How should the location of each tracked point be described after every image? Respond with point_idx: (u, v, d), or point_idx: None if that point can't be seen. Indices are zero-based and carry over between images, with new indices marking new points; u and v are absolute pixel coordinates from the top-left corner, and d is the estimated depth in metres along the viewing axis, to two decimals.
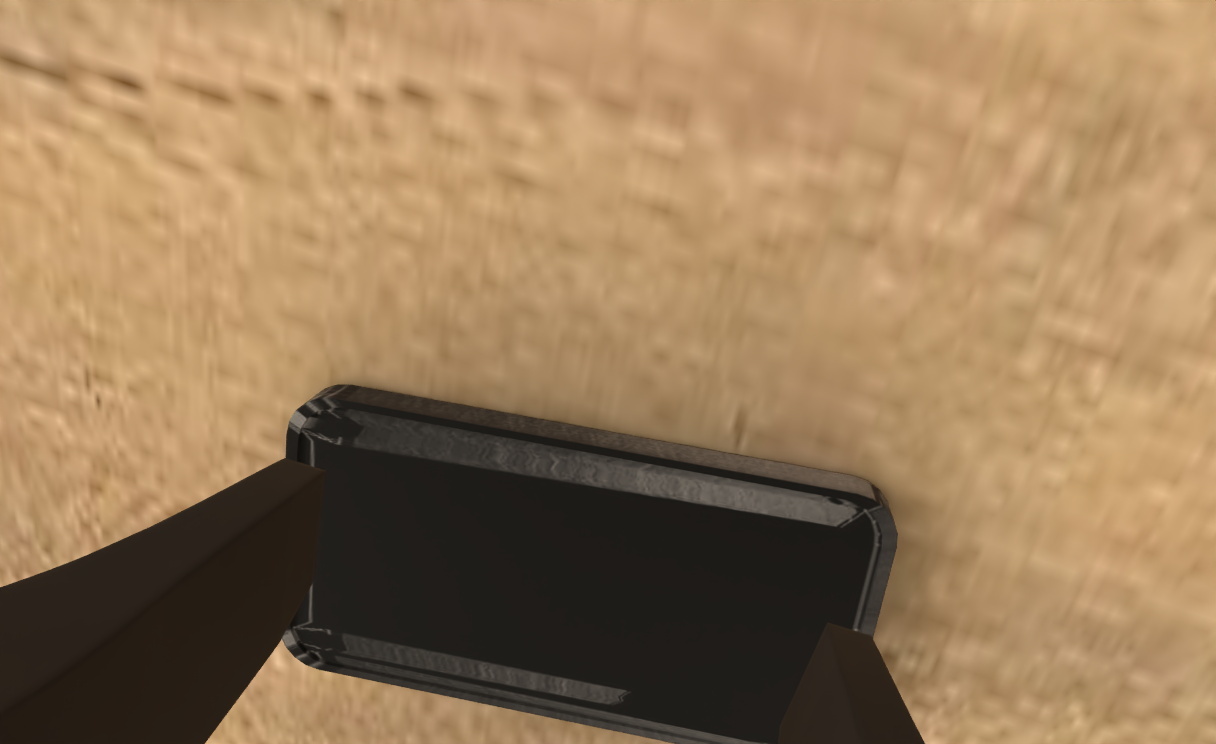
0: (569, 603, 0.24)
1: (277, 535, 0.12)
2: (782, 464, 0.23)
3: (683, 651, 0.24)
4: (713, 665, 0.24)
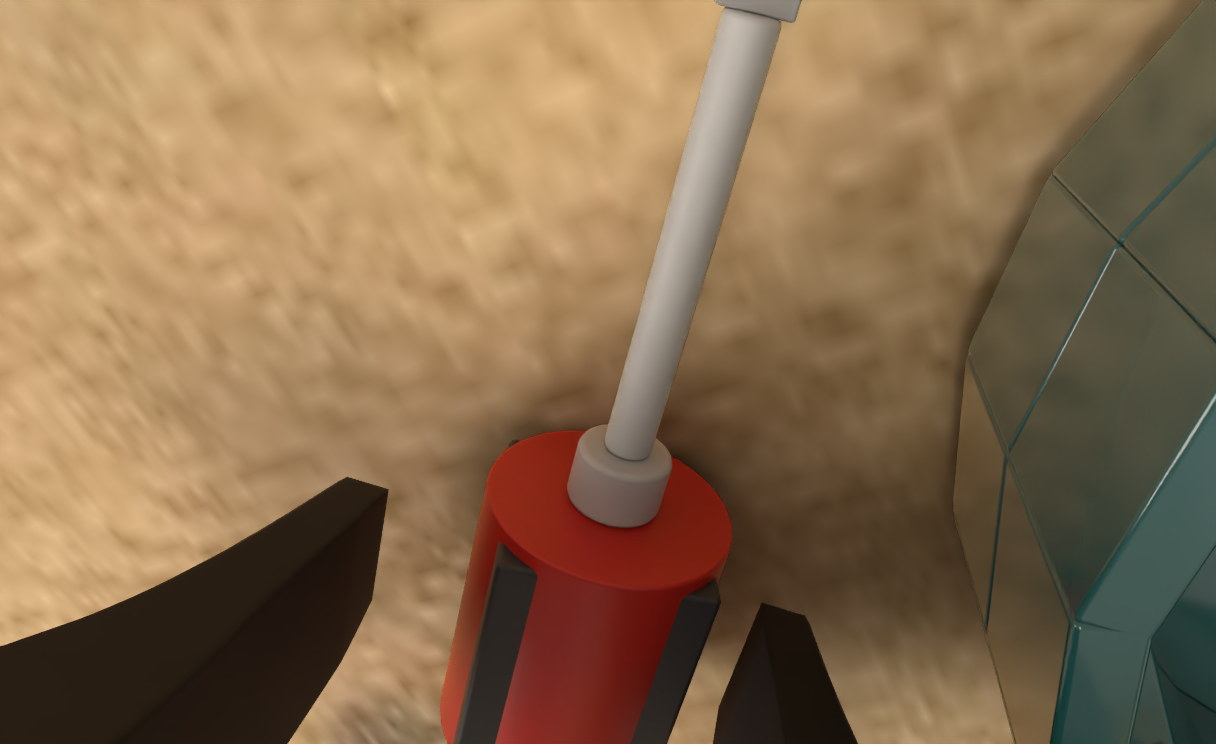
0: None
1: (345, 556, 0.12)
2: None
3: None
4: None
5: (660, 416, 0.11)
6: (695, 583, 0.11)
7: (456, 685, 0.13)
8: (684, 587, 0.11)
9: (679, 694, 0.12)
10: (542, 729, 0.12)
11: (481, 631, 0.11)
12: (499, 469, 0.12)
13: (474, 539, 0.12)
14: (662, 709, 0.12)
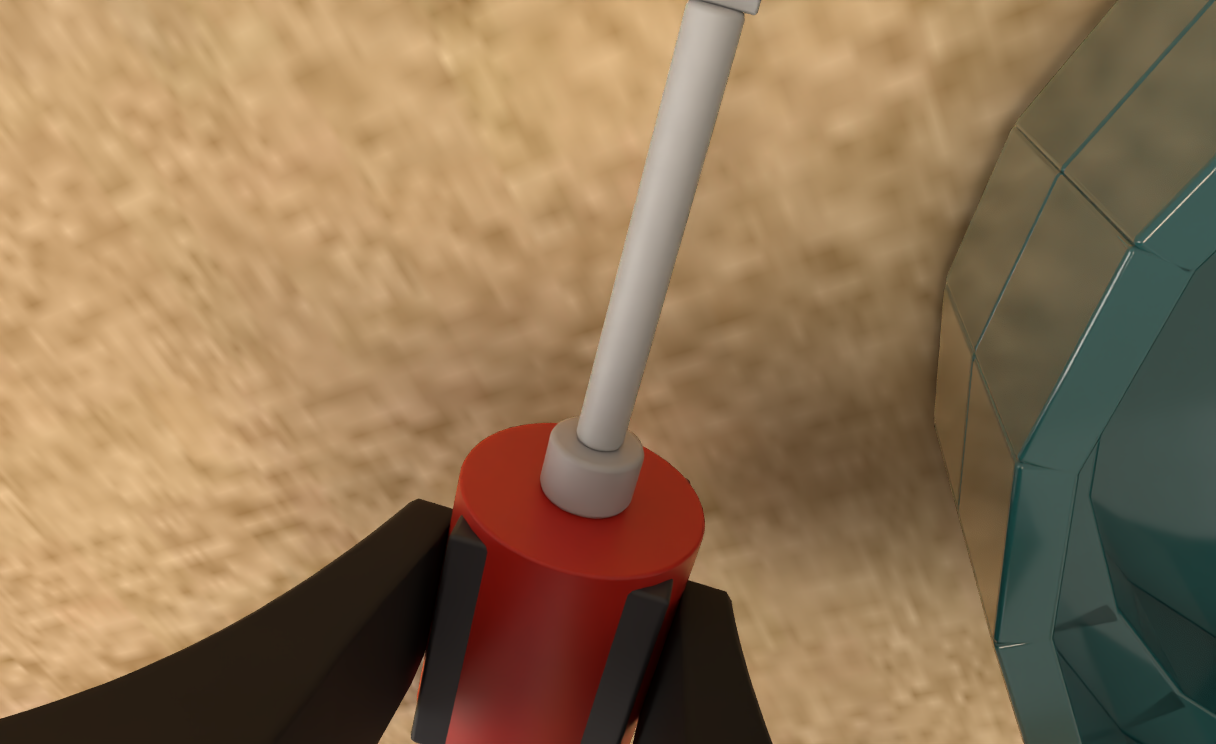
0: None
1: (423, 579, 0.12)
2: None
3: None
4: None
5: (628, 408, 0.11)
6: (644, 579, 0.11)
7: None
8: (631, 581, 0.11)
9: (629, 695, 0.12)
10: (491, 709, 0.12)
11: (437, 601, 0.12)
12: (481, 449, 0.12)
13: None
14: (612, 708, 0.12)
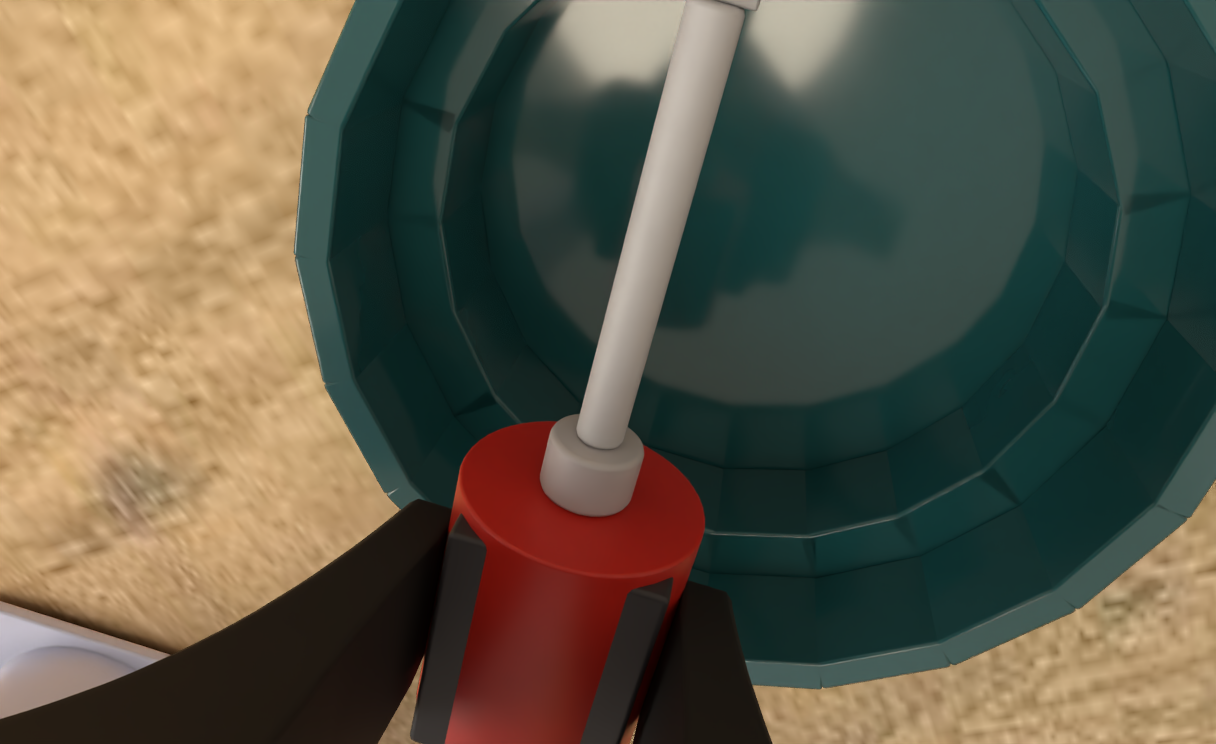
0: None
1: (423, 580, 0.12)
2: None
3: None
4: None
5: (628, 406, 0.11)
6: (644, 578, 0.11)
7: None
8: (631, 580, 0.11)
9: (629, 693, 0.12)
10: (490, 707, 0.12)
11: (436, 599, 0.12)
12: (480, 447, 0.12)
13: None
14: (612, 707, 0.12)
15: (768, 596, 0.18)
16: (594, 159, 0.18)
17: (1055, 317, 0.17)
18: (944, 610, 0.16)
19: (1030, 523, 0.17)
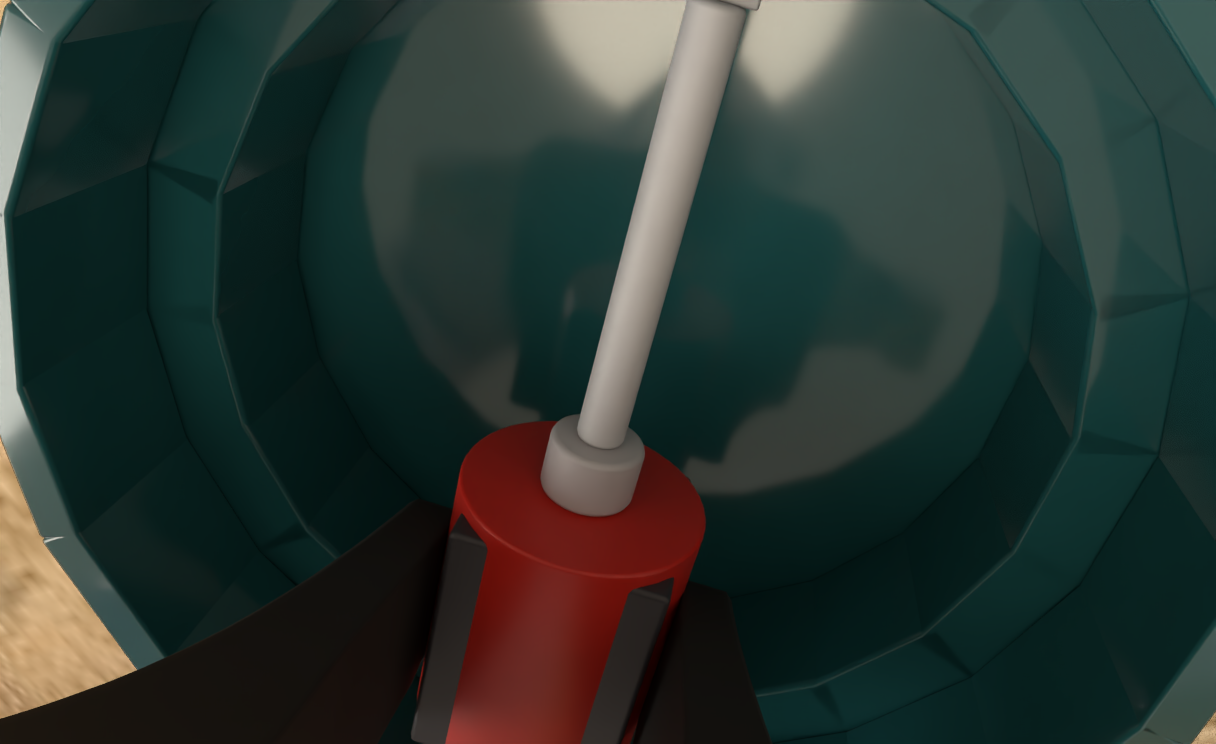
0: None
1: (423, 580, 0.12)
2: None
3: None
4: None
5: (628, 406, 0.11)
6: (645, 577, 0.11)
7: None
8: (631, 579, 0.11)
9: (629, 694, 0.12)
10: (491, 707, 0.12)
11: (437, 599, 0.12)
12: (481, 446, 0.12)
13: None
14: (612, 707, 0.12)
15: None
16: (433, 226, 0.14)
17: (1015, 434, 0.13)
18: None
19: (981, 709, 0.13)
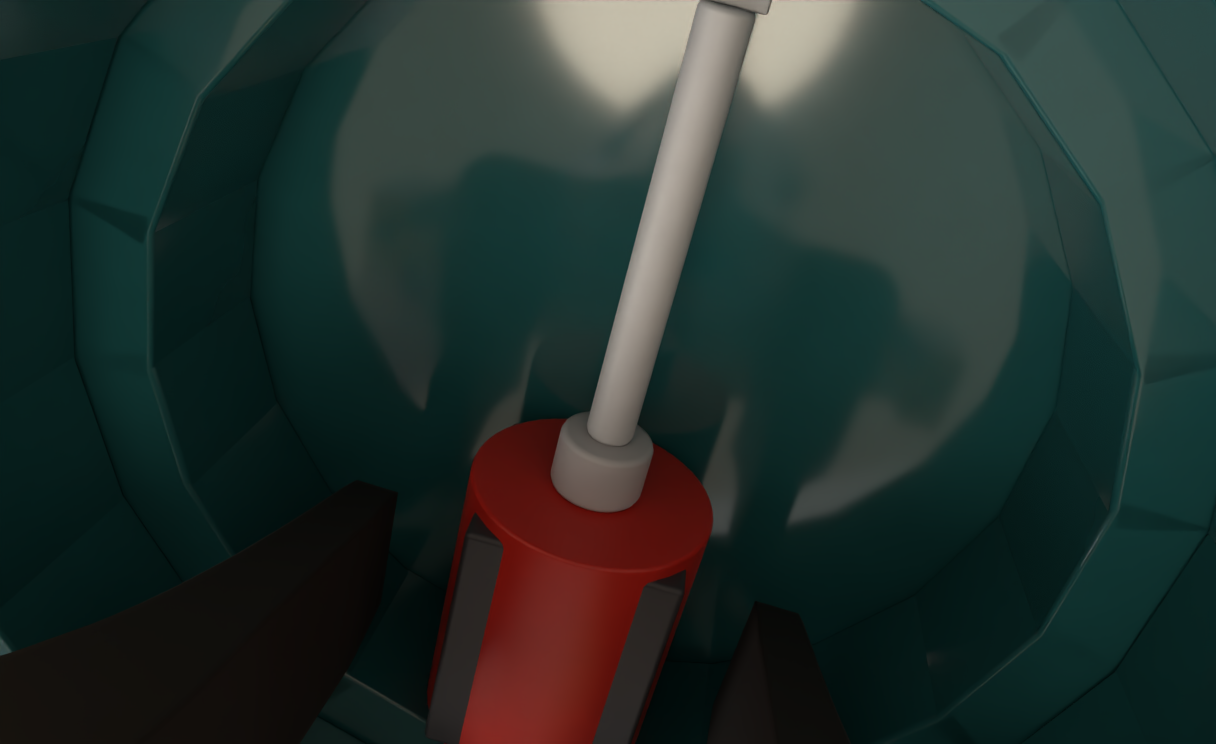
0: None
1: (356, 559, 0.12)
2: None
3: None
4: None
5: (638, 403, 0.11)
6: (659, 571, 0.11)
7: (438, 655, 0.13)
8: (647, 574, 0.11)
9: (643, 685, 0.12)
10: (507, 703, 0.12)
11: (452, 598, 0.12)
12: (489, 446, 0.12)
13: None
14: (627, 698, 0.12)
15: None
16: (398, 261, 0.13)
17: (1041, 496, 0.12)
18: None
19: None
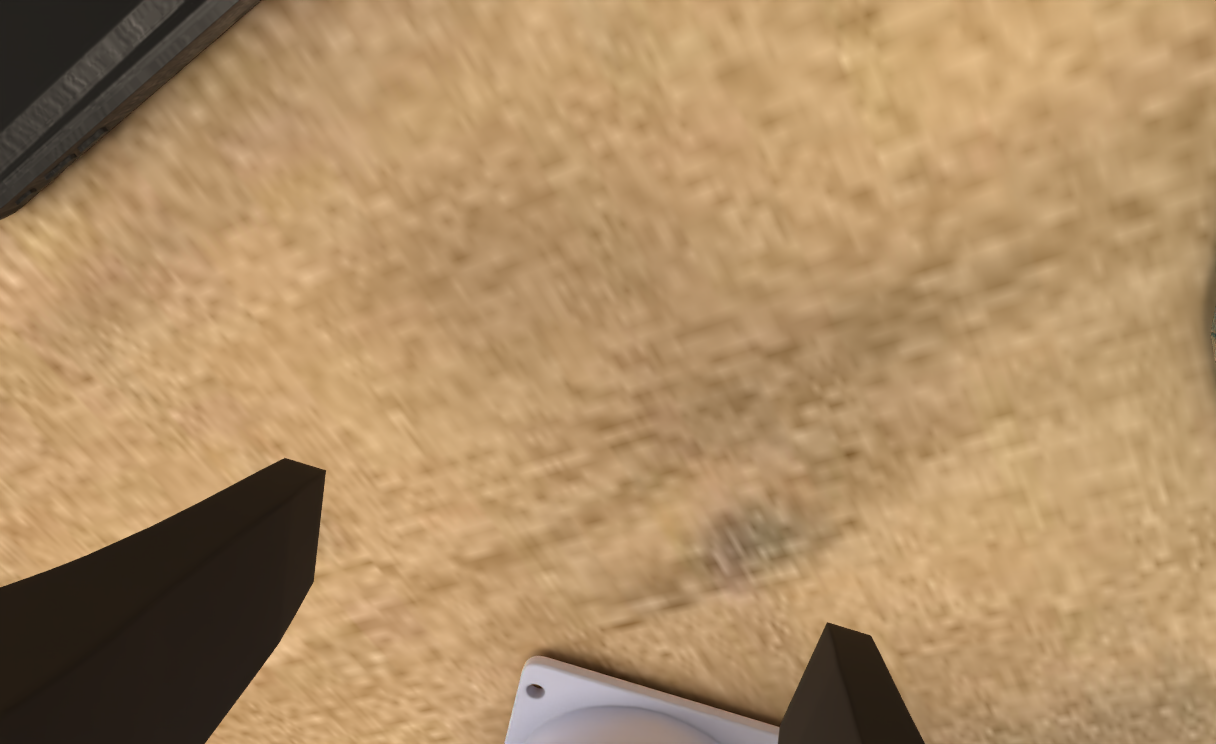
0: None
1: (277, 535, 0.12)
2: None
3: None
4: None
5: None
6: None
7: None
8: None
9: None
10: None
11: None
12: None
13: None
14: None
15: None
16: None
17: None
18: None
19: None
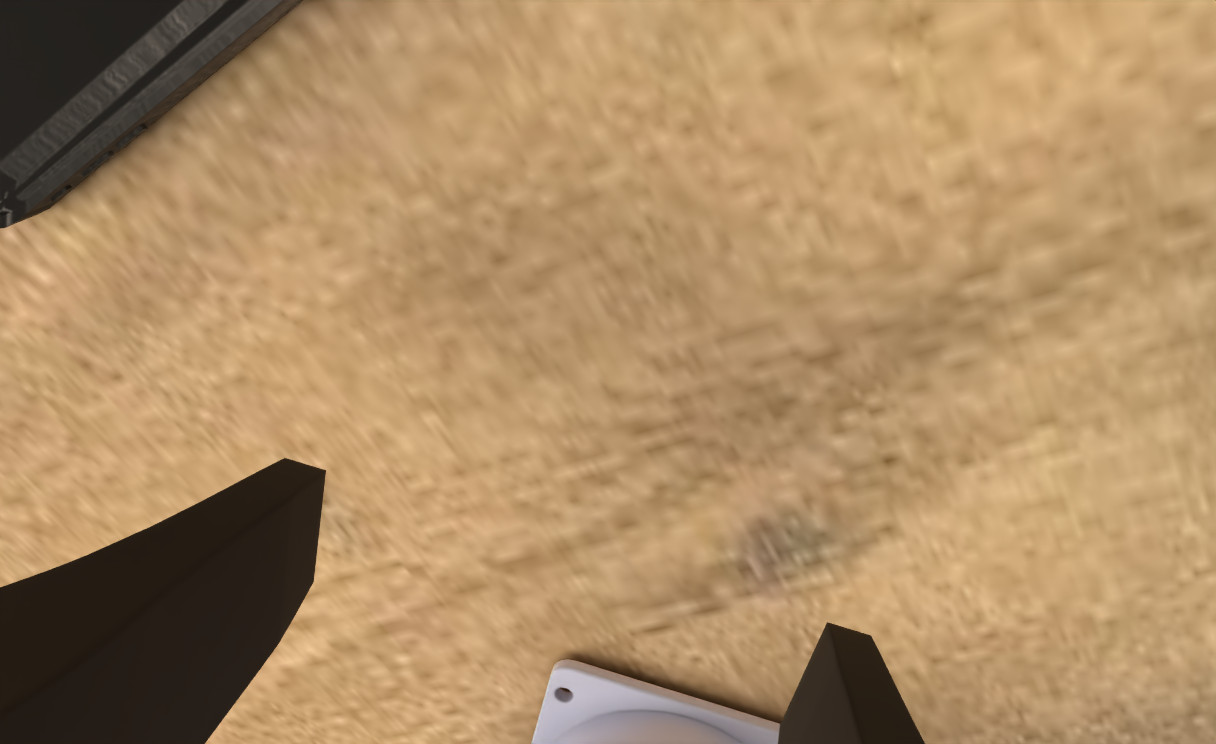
0: None
1: (277, 535, 0.12)
2: None
3: None
4: None
5: None
6: None
7: None
8: None
9: None
10: None
11: None
12: None
13: None
14: None
15: None
16: None
17: None
18: None
19: None
